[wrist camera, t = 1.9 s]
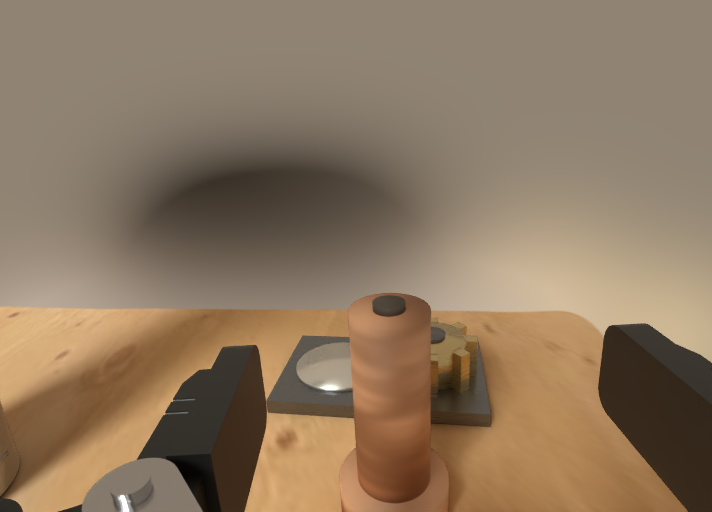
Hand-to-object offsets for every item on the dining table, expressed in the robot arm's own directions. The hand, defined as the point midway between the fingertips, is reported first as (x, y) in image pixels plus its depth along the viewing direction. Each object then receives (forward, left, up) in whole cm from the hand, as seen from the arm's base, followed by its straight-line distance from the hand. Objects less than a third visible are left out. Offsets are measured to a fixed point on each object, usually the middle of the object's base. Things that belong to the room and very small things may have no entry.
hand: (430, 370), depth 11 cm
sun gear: (0, +23, -16) cm, 28 cm away
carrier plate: (-4, +23, -16) cm, 28 cm away
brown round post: (-2, +11, -16) cm, 19 cm away
